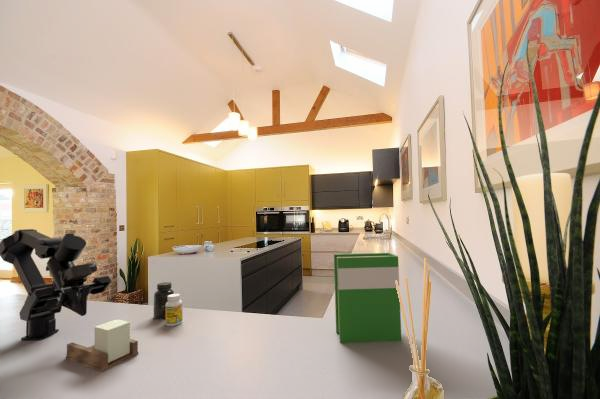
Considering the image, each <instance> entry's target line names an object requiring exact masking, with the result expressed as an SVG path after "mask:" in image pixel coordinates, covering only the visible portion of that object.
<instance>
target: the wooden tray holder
mask: <svg viewBox="0 0 600 399" xmlns="http://www.w3.org/2000/svg"><path fill="white" fill-rule="evenodd" d="M138 346H139V340H135V339H132V338H130V353H128V354H126V355H124V356H122V357H120V358H118V359H116V360H113V361H111V362H109V363H108V354H107V353H103V352H100V351H97V350H94V344H93V345H91V346H88V347H87V346H84V345H81V344H78V343H75V342H69V343H67V344H66V355H65V359H66V360H68V361H71V362H74V363H77V364H79V365H81V366H85V367H87V368H90V369H92V370H95V371H98V372H101V373H103V372H104V371H107V370H109V369H111V368H113V367H115V366H118V365H119V364H121V363H123V362H125V361H128V360H129V358H130V359H131V357H132V358H133V357H136V356H137V355H139V350H138V349H139V348H138Z"/></svg>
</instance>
